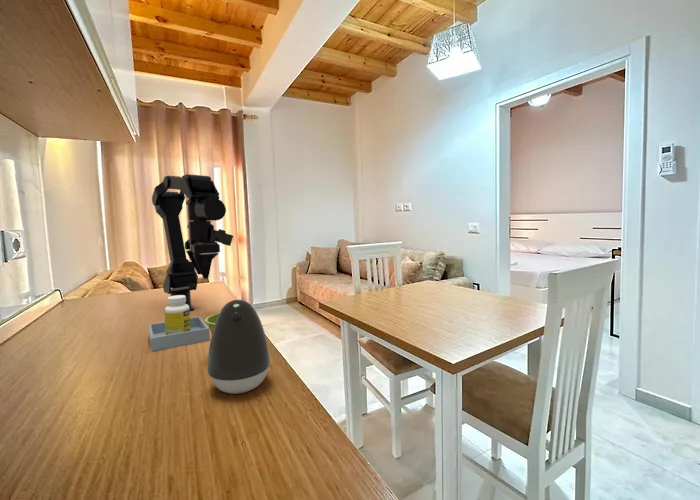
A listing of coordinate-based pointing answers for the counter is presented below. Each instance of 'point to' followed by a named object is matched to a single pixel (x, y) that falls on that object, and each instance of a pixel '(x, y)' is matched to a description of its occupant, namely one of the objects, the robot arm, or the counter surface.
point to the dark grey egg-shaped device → (238, 349)
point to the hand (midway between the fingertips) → (202, 276)
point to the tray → (177, 335)
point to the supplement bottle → (177, 315)
